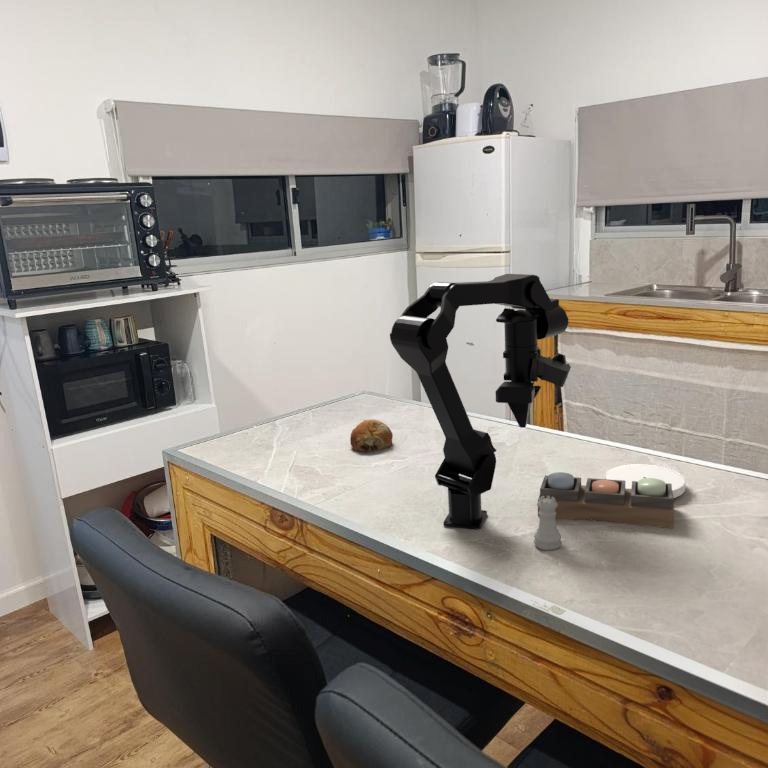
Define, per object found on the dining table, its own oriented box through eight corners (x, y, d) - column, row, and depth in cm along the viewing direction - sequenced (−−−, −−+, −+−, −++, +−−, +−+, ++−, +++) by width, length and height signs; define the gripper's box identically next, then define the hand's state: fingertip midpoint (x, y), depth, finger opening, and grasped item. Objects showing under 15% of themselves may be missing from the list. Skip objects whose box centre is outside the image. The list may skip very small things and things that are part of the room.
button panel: (673, 528, 116) (674, 501, 115) (537, 516, 123) (537, 490, 122) (672, 507, 123) (673, 482, 122) (544, 497, 131) (543, 473, 130)
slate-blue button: (572, 493, 122) (572, 482, 122) (546, 491, 124) (546, 480, 123) (574, 483, 126) (574, 473, 126) (549, 481, 128) (549, 471, 127)
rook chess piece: (556, 553, 110) (556, 506, 108) (529, 548, 113) (528, 501, 111) (565, 541, 114) (565, 495, 112) (539, 536, 116) (538, 491, 114)
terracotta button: (618, 501, 120) (618, 490, 119) (591, 499, 121) (591, 488, 121) (619, 491, 124) (619, 480, 123) (592, 489, 125) (593, 479, 125)
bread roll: (397, 458, 167) (403, 424, 168) (375, 453, 158) (381, 418, 159) (363, 452, 172) (368, 420, 173) (339, 448, 163) (345, 414, 164)
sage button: (665, 500, 117) (666, 489, 116) (637, 498, 118) (637, 487, 118) (665, 489, 121) (665, 479, 120) (637, 488, 122) (638, 477, 122)
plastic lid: (666, 513, 122) (667, 499, 121) (591, 494, 131) (591, 482, 131) (696, 486, 132) (697, 473, 131) (624, 470, 141) (624, 459, 141)
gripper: (561, 356, 115) (561, 446, 119) (572, 334, 132) (572, 413, 136) (493, 355, 119) (496, 442, 123) (513, 334, 136) (515, 411, 140)
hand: (522, 426), depth 131 cm, fingers closed
